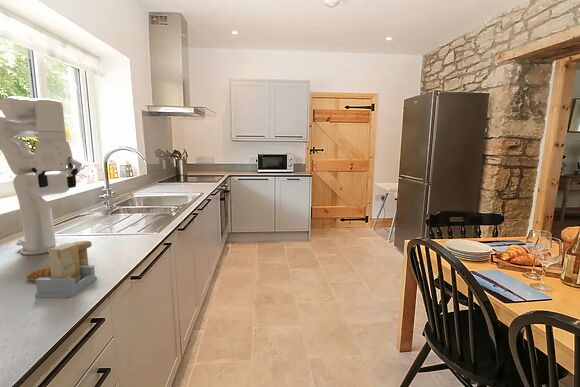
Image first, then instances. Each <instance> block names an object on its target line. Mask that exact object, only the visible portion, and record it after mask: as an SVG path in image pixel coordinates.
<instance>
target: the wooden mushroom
mask: <svg viewBox="0 0 580 387" xmlns="http://www.w3.org/2000/svg"><path fill="white" fill-rule="evenodd" d="M72 243H74V244H78V252H79V262H80V265H89V257H88V249H89V248H91V247H92V245H93V244H92V241H90V240H80V241H78V240H77V241H73V242H72Z"/></svg>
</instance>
